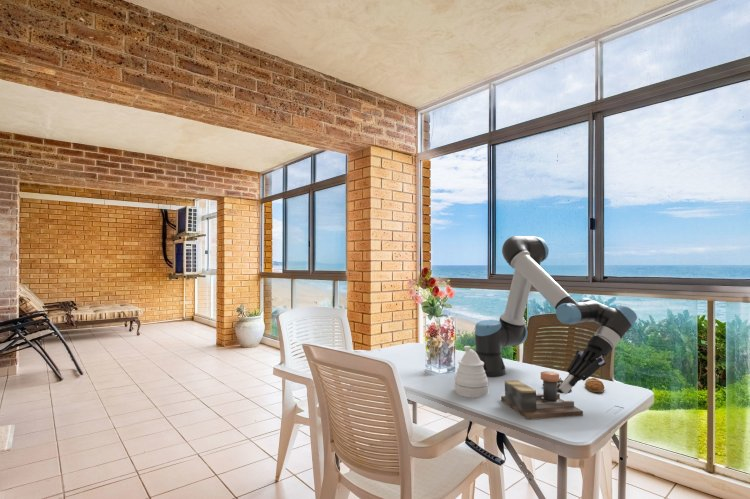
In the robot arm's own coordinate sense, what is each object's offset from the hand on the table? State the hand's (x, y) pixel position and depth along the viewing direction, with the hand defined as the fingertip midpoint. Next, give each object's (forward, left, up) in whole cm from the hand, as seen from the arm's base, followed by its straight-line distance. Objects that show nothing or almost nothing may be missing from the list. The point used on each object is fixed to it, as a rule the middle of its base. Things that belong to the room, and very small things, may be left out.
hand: (562, 391), depth 140 cm
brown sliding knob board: (0, -9, -5) cm, 10 cm away
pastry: (-15, +25, -6) cm, 30 cm away
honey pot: (-20, -26, -6) cm, 33 cm away
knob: (0, -5, -4) cm, 6 cm away
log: (-19, +10, -6) cm, 22 cm away
